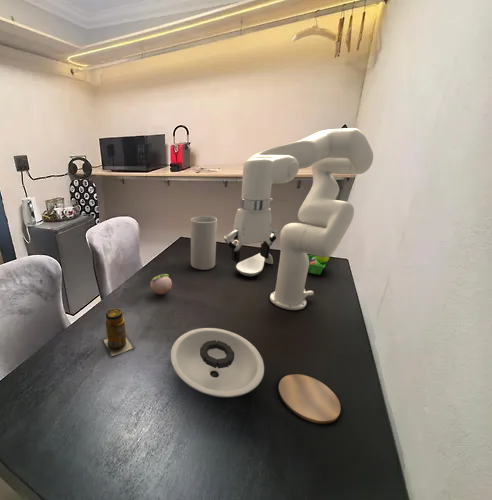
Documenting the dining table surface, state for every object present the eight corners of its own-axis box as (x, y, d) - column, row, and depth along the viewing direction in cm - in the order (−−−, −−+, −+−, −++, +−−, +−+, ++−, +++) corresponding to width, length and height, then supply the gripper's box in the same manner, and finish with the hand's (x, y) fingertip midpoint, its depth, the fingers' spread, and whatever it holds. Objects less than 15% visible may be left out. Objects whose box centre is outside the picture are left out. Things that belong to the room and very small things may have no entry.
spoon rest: (252, 282, 119) (254, 267, 116) (230, 273, 128) (231, 260, 125) (279, 266, 132) (281, 253, 129) (257, 259, 141) (258, 247, 138)
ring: (224, 342, 75) (224, 338, 75) (239, 365, 67) (239, 360, 67) (196, 347, 74) (196, 342, 74) (207, 370, 66) (208, 365, 66)
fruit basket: (306, 264, 132) (310, 243, 128) (327, 267, 127) (332, 246, 123) (303, 273, 124) (307, 250, 120) (326, 277, 119) (331, 254, 115)
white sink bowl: (251, 435, 58) (254, 414, 55) (155, 389, 70) (154, 370, 67) (268, 361, 76) (270, 343, 74) (190, 335, 88) (190, 319, 86)
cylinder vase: (217, 269, 132) (220, 222, 123) (192, 271, 133) (193, 223, 123) (211, 259, 144) (213, 215, 135) (188, 260, 144) (189, 216, 135)
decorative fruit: (161, 302, 108) (160, 281, 104) (147, 295, 114) (146, 274, 110) (176, 293, 114) (176, 273, 110) (163, 287, 120) (162, 267, 116)
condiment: (123, 333, 92) (120, 304, 87) (133, 348, 84) (130, 317, 80) (103, 340, 89) (99, 311, 84) (111, 357, 82) (107, 325, 77)
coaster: (310, 372, 72) (310, 369, 72) (354, 416, 60) (355, 414, 60) (267, 381, 70) (267, 379, 70) (304, 429, 58) (304, 427, 58)
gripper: (273, 198, 79) (267, 251, 85) (220, 204, 76) (218, 258, 83) (291, 203, 72) (283, 259, 79) (233, 210, 70) (229, 268, 76)
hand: (249, 259), depth 81 cm, fingers open, 9 cm apart
